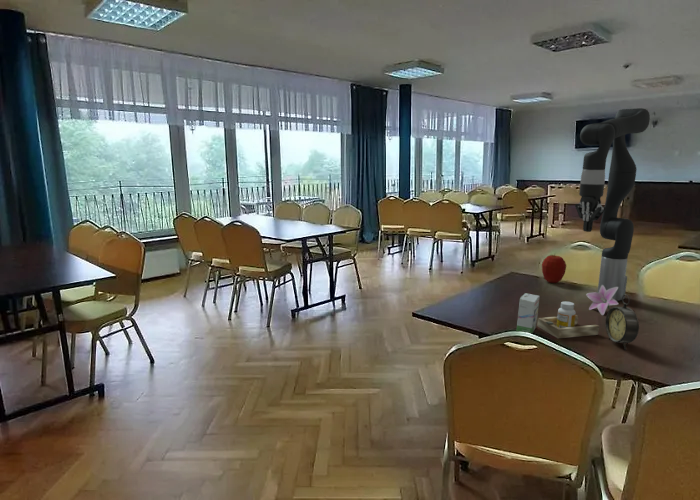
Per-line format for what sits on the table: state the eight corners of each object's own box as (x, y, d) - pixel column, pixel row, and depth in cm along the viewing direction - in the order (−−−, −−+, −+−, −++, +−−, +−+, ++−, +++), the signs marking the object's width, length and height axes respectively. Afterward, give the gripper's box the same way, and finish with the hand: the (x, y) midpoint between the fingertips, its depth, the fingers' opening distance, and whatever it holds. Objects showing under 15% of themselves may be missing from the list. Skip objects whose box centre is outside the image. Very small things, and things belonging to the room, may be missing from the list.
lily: (583, 306, 184) (579, 288, 180) (614, 296, 181) (610, 278, 177) (597, 326, 173) (592, 307, 169) (630, 315, 171) (626, 296, 167)
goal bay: (575, 323, 163) (576, 313, 162) (598, 334, 152) (599, 324, 152) (536, 326, 160) (537, 317, 159) (557, 338, 149) (558, 328, 148)
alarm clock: (602, 337, 150) (608, 289, 147) (619, 337, 150) (625, 289, 147) (621, 351, 139) (628, 300, 136) (639, 351, 139) (646, 300, 136)
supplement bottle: (569, 327, 158) (572, 300, 156) (576, 333, 153) (579, 305, 151) (553, 327, 158) (556, 300, 156) (560, 333, 153) (563, 305, 151)
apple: (544, 285, 211) (546, 255, 208) (537, 279, 220) (540, 250, 218) (567, 285, 210) (570, 255, 207) (560, 279, 219) (563, 251, 217)
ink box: (521, 325, 161) (523, 292, 159) (537, 328, 158) (539, 294, 156) (515, 333, 154) (518, 298, 151) (531, 336, 151) (534, 301, 149)
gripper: (615, 183, 158) (610, 234, 161) (588, 181, 170) (583, 228, 174) (596, 184, 156) (591, 234, 159) (570, 181, 169) (565, 228, 172)
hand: (587, 231), depth 167 cm, fingers closed
